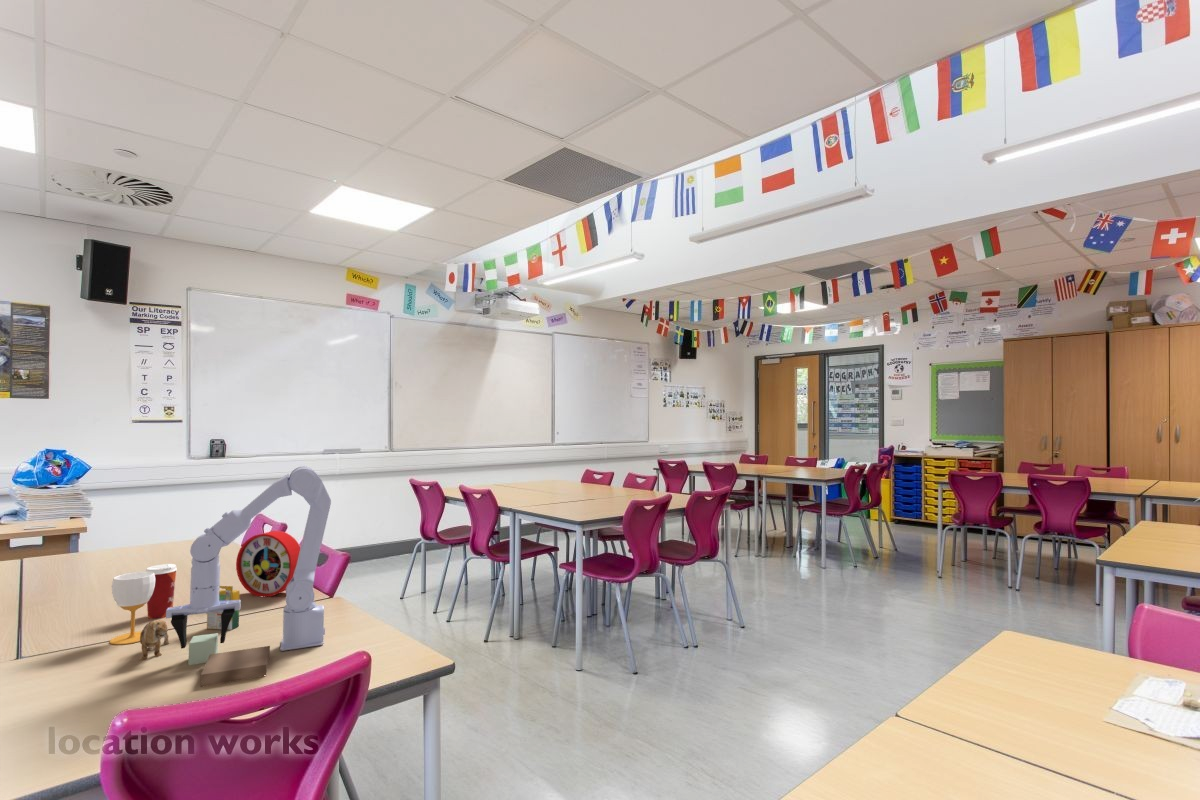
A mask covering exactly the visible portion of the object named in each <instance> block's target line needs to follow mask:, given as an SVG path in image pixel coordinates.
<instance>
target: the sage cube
mask: <svg viewBox="0 0 1200 800" xmlns="http://www.w3.org/2000/svg"><path fill="white" fill-rule="evenodd" d="M216 653H219V632H216V633H210V634H209V633H206V634H201V635H200V634H199V635H193V636H192V638H191V639H190V641H189V643H188V666H191V665H198V664H206V662H207V660H208V658H209V655H210V654H216Z"/></svg>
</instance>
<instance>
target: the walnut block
mask: <svg viewBox="0 0 1200 800" xmlns="http://www.w3.org/2000/svg"><path fill="white" fill-rule="evenodd" d="M270 652H271V645H266V646H260V647H252V648H246V649H239V650H238V649H237V650H232V651H225V652H218V653H216V654H210V655H209V658H208V660H207V662H206V663H204V667H203V669H202V671H201V674H200V688H203V686H204V687H209V686H215V685H220V684H227V683H232V682H239V681H244V680H250V678H252V679H255V678H254V677H258V678H260V677H259V676H264V675H266V676H267V674H266V673H267V672H268V667H269V663H270V654H271V653H270ZM264 677H265V676H264Z"/></svg>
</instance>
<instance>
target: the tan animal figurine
mask: <svg viewBox="0 0 1200 800" xmlns="http://www.w3.org/2000/svg"><path fill="white" fill-rule="evenodd" d="M141 631H142V632H141V636H140V642H139V644H141V651H142V652H141V653H142V656H141V657H140V660H146V659H147V658H148V657H149V656H148V651H152V649H154V652H153V654H154V657H156V658H157V657H160V656H162V653H161V650H160V649H161V640H162V639H163V638H164V640H163V642H162V645H165V646H167V645H169V643H170V642H169V634H168V625H167V623H166V621H165V620H161V619H158V620H152V621H149V622H148V623H147V624H146V625H145V626H144V627H143V629H142V630H141Z"/></svg>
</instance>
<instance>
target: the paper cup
mask: <svg viewBox="0 0 1200 800" xmlns="http://www.w3.org/2000/svg"><path fill="white" fill-rule="evenodd" d="M177 570H178V568H177V565H176V564H174V563H163V564H156V565H152V566H148V567H146V570H145V572H153V573H155V587H154V591H153V594H152V596H151V597H150V599H149V601H148V602H147V603H146V608H147V609H146V610H147V617H148V619H152V620H153V619H154V620H155V619H161V618H166V610H167V609H168V608H170V607H174V598H175V588H176V576H177Z"/></svg>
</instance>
